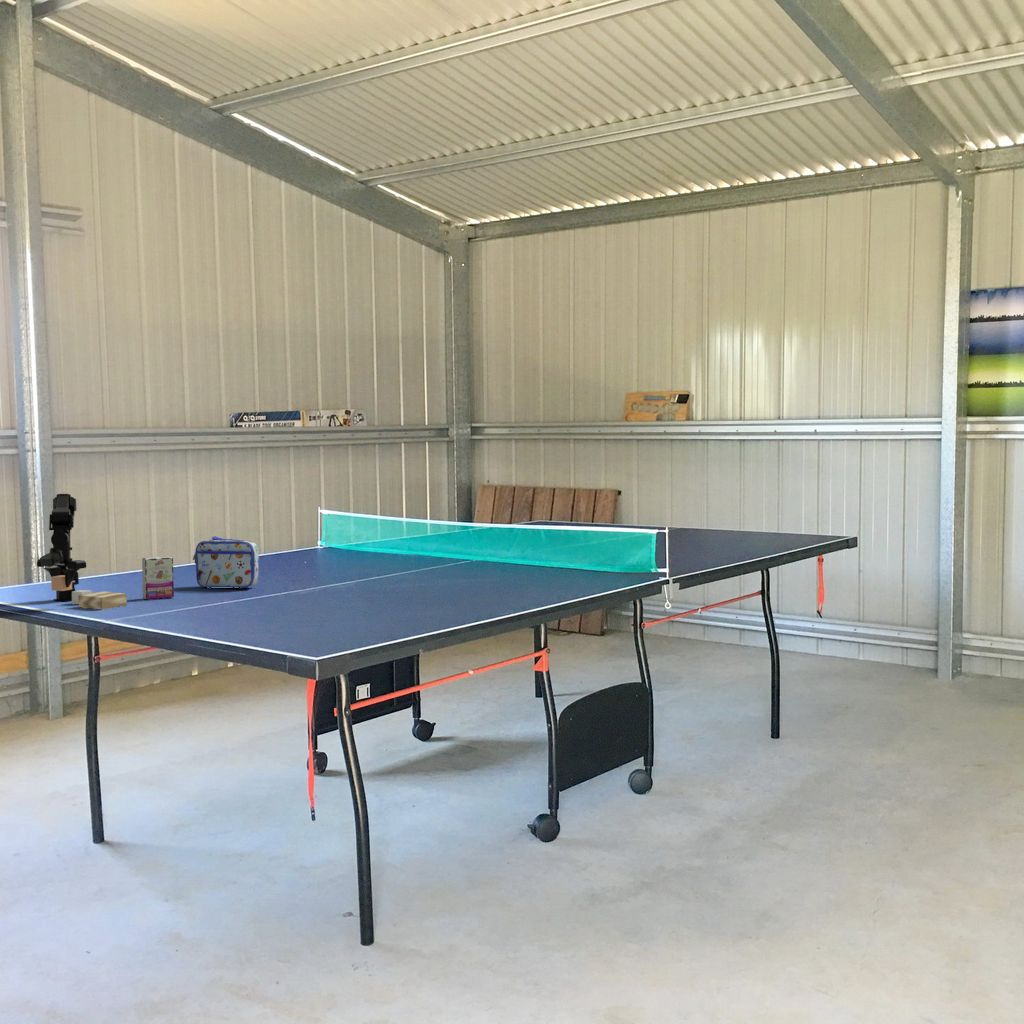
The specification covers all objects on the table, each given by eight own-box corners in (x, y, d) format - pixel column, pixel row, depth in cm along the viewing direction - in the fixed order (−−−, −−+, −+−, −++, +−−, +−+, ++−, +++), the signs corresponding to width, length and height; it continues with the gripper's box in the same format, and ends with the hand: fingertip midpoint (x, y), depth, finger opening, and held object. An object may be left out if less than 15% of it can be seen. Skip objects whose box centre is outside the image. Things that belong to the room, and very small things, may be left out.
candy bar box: (169, 596, 432) (169, 556, 431) (174, 598, 428) (173, 557, 427) (141, 598, 426) (141, 557, 425) (145, 600, 422) (145, 558, 421)
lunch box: (190, 588, 456) (189, 537, 454) (199, 585, 466) (199, 535, 465) (253, 590, 453) (252, 538, 452) (261, 587, 463) (261, 536, 462)
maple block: (78, 608, 402) (78, 595, 401) (103, 604, 412) (103, 591, 412) (102, 611, 396) (102, 597, 396) (126, 606, 407) (126, 593, 407)
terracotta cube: (51, 590, 397) (51, 576, 396) (61, 588, 401) (61, 575, 401) (61, 590, 395) (61, 577, 395) (72, 589, 400) (72, 576, 399)
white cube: (71, 604, 409) (71, 591, 409) (81, 602, 414) (81, 589, 414) (82, 605, 407) (82, 592, 407) (91, 603, 412) (91, 590, 412)
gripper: (24, 545, 393) (25, 587, 394) (64, 548, 386) (64, 591, 387) (48, 543, 403) (48, 584, 404) (87, 545, 397) (87, 587, 398)
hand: (61, 586), depth 398 cm, fingers closed on terracotta cube, 5 cm apart
